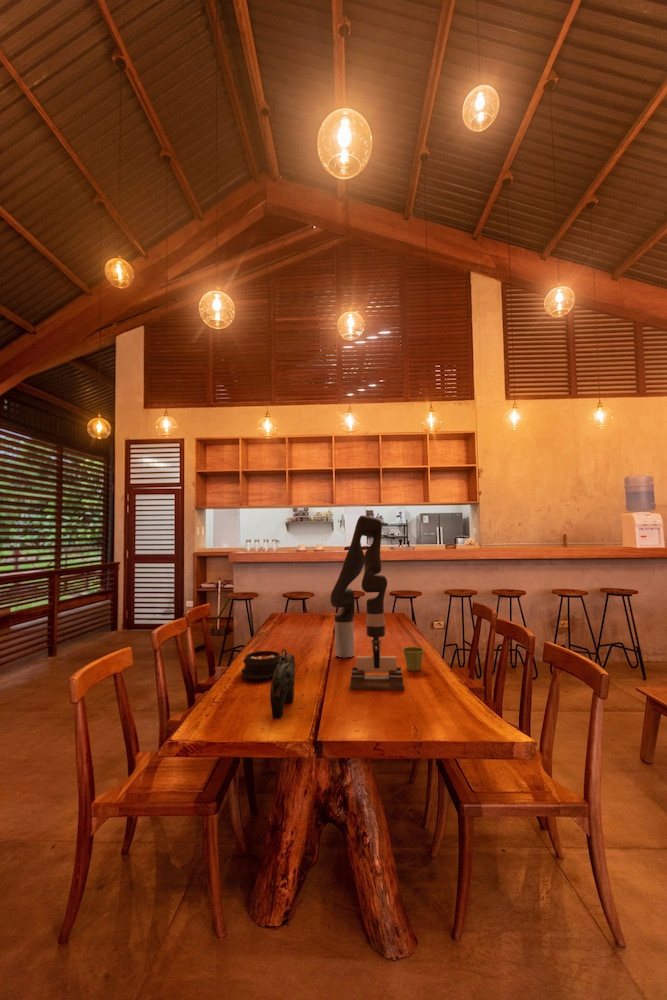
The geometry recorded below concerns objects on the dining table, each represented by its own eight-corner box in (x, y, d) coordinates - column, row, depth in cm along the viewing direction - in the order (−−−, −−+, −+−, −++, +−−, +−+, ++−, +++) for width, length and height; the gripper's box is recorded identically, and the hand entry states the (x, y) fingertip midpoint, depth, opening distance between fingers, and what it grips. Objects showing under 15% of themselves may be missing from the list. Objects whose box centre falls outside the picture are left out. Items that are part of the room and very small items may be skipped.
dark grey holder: (351, 678, 198) (351, 666, 198) (402, 679, 196) (401, 666, 196) (349, 689, 184) (349, 676, 184) (404, 690, 182) (404, 676, 183)
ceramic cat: (282, 698, 176) (282, 643, 177) (299, 699, 175) (299, 644, 176) (266, 719, 157) (266, 657, 158) (285, 720, 156) (285, 658, 157)
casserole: (275, 684, 193) (274, 663, 194) (231, 682, 196) (231, 662, 197) (291, 666, 218) (290, 648, 218) (252, 665, 221) (252, 647, 221)
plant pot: (425, 672, 204) (424, 652, 205) (403, 672, 206) (402, 651, 206) (424, 666, 213) (423, 647, 214) (403, 666, 215) (402, 646, 215)
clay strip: (357, 670, 196) (357, 656, 196) (396, 670, 194) (396, 656, 195) (357, 672, 193) (356, 657, 194) (396, 672, 192) (396, 657, 192)
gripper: (385, 627, 188) (386, 672, 187) (384, 620, 202) (385, 662, 200) (366, 627, 188) (367, 672, 187) (366, 621, 202) (367, 662, 201)
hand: (376, 666), depth 194 cm, fingers closed on clay strip, 2 cm apart
